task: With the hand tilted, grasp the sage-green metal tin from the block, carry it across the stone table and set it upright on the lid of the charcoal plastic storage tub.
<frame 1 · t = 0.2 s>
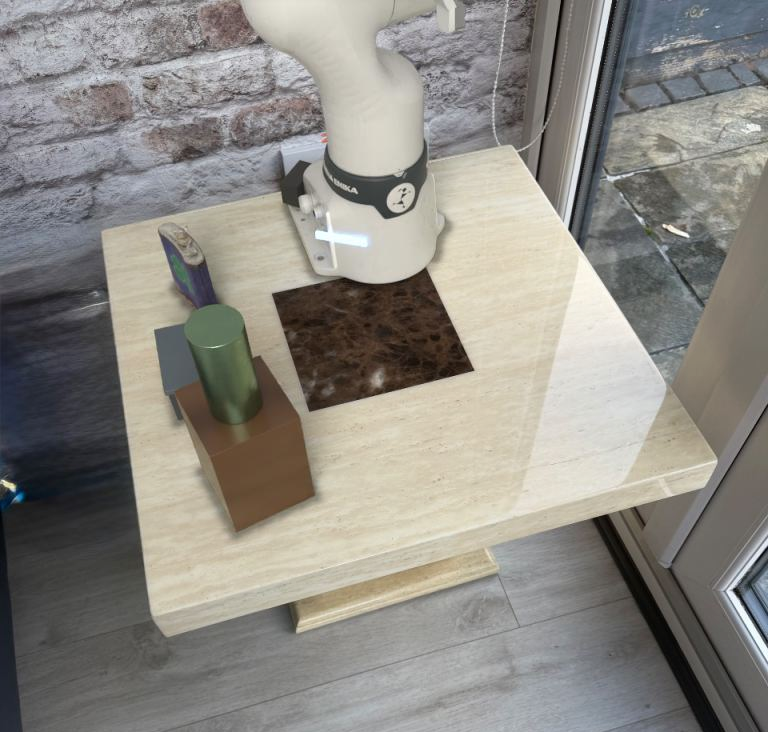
hand: (503, 12, 64), 39 cm above the table, tool pointing down, fingers open, 8 cm apart
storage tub: (198, 385, 97), on the table
tin: (235, 403, 78), point 13 cm above the table, touching block
block: (258, 483, 89), on the table
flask: (199, 301, 104), on the table
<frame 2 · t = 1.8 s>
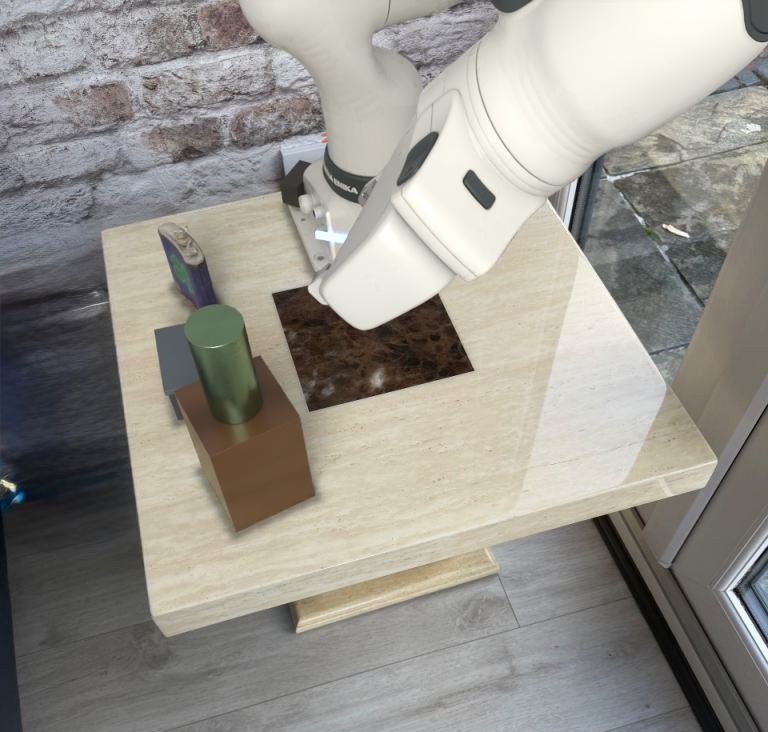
hand: (344, 244, 58), 34 cm above the table, tool tilted 45°, fingers open, 8 cm apart
nothing on the table moved.
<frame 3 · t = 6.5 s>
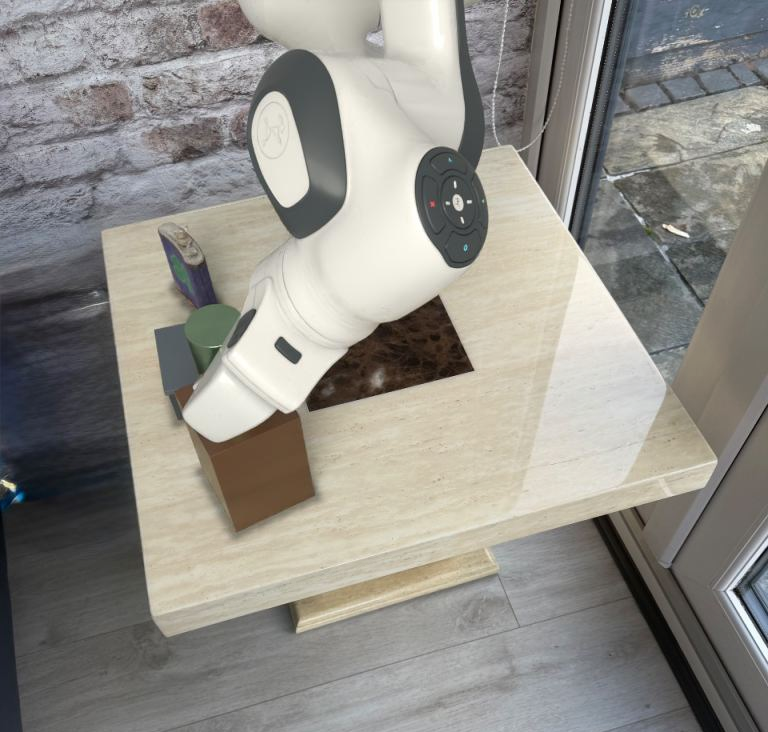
hand: (218, 362, 74), 18 cm above the table, tool tilted 45°, fingers closed on tin, 5 cm apart
tin: (236, 403, 78), point 13 cm above the table, touching gripper, block
everything else where it was.
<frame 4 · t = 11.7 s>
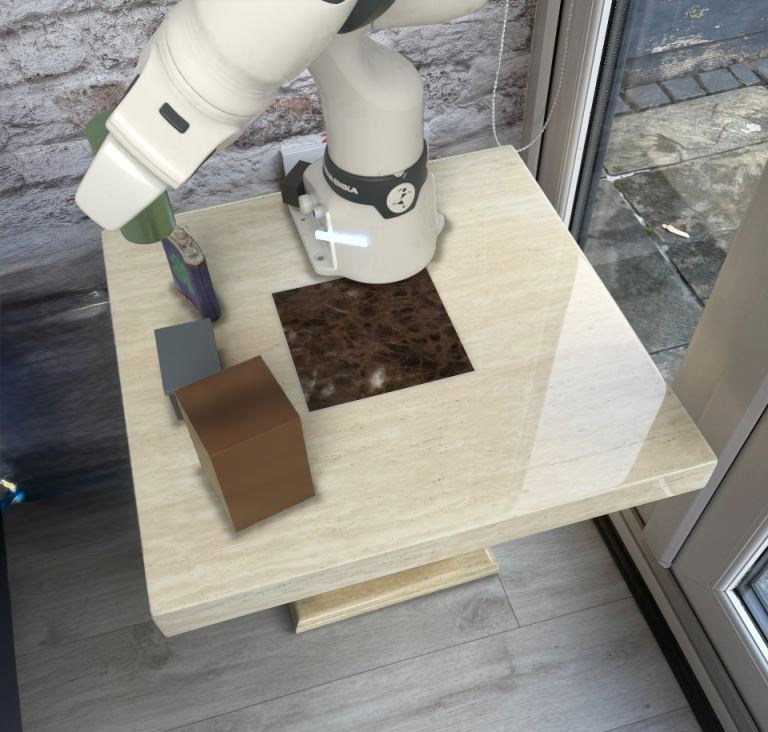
hand: (125, 174, 73), 28 cm above the table, tool tilted 45°, fingers closed on tin, 5 cm apart
tin: (148, 226, 77), point 23 cm above the table, touching gripper
everything else where it was.
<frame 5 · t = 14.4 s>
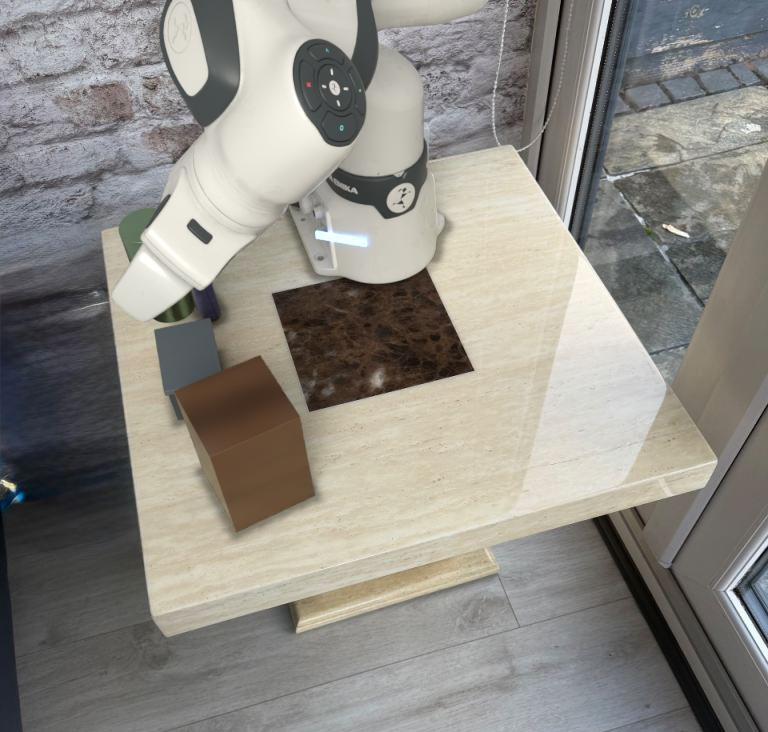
hand: (152, 263, 82), 18 cm above the table, tool tilted 45°, fingers closed on tin, 5 cm apart
tin: (171, 305, 86), point 12 cm above the table, touching gripper
everything else where it was.
when the fingers open (10 cm above the table, at t = 16.8 s): tin stays where it is, resting on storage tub.
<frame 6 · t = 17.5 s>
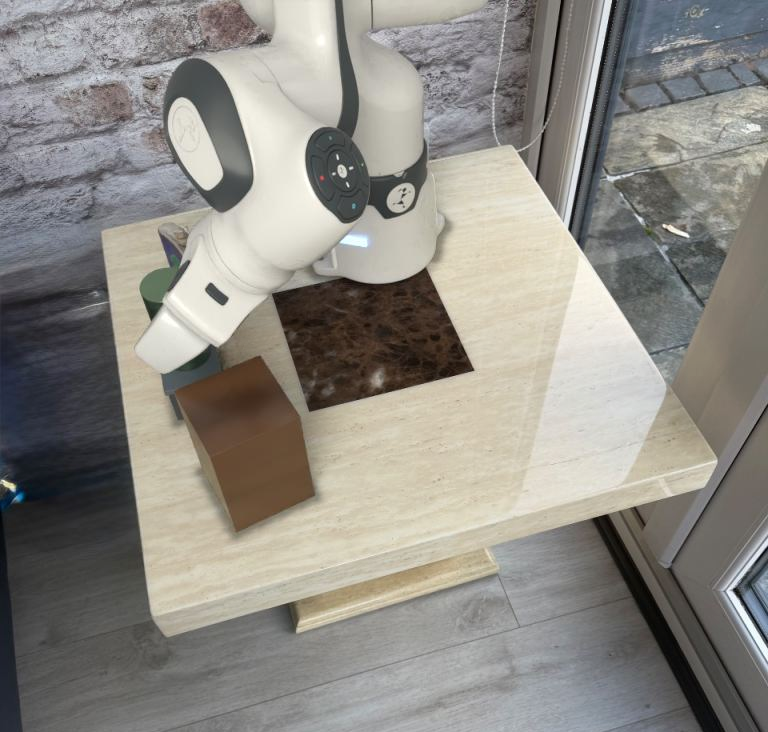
hand: (169, 312, 87), 11 cm above the table, tool tilted 45°, fingers open, 8 cm apart
tin: (187, 354, 92), point 5 cm above the table, touching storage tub
everything else where it was.
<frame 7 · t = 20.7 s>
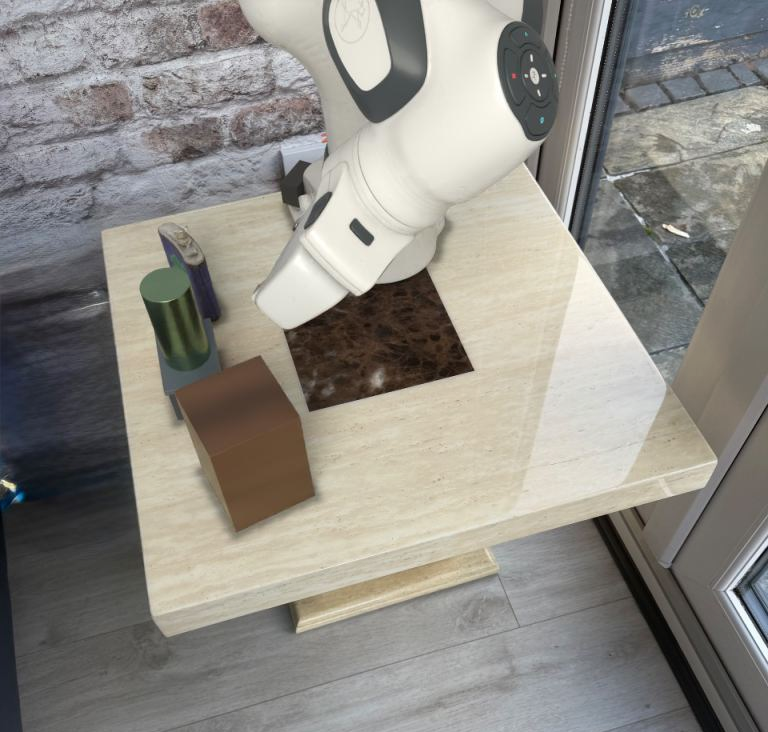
hand: (280, 263, 76), 21 cm above the table, tool tilted 45°, fingers open, 8 cm apart
nothing on the table moved.
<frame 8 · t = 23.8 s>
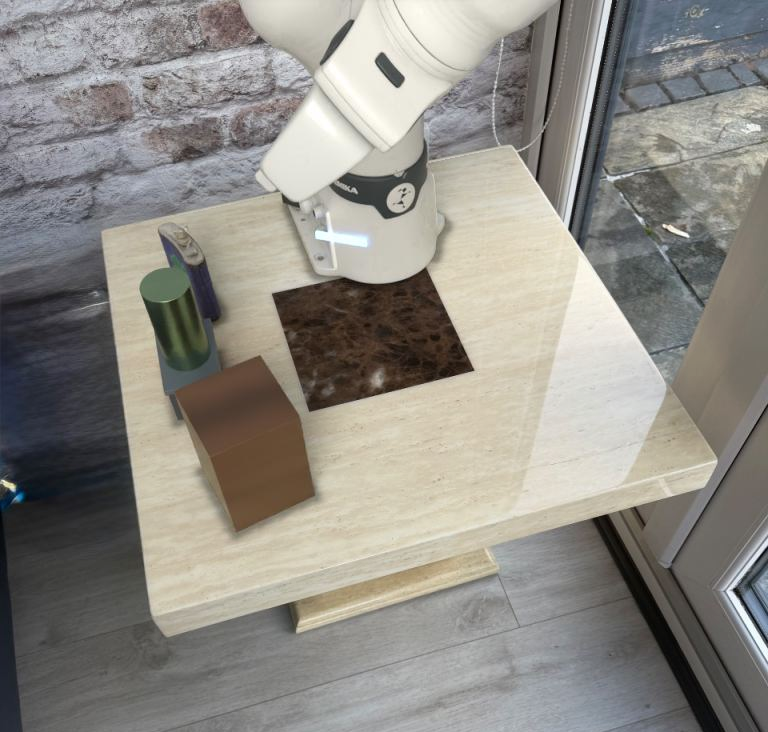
hand: (289, 143, 65), 33 cm above the table, tool tilted 45°, fingers open, 8 cm apart
nothing on the table moved.
at the end: tin 0.1 cm off-centre on the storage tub, point 5.3 cm above the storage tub's base; tin tilted 0°; the gripper is holding nothing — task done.
